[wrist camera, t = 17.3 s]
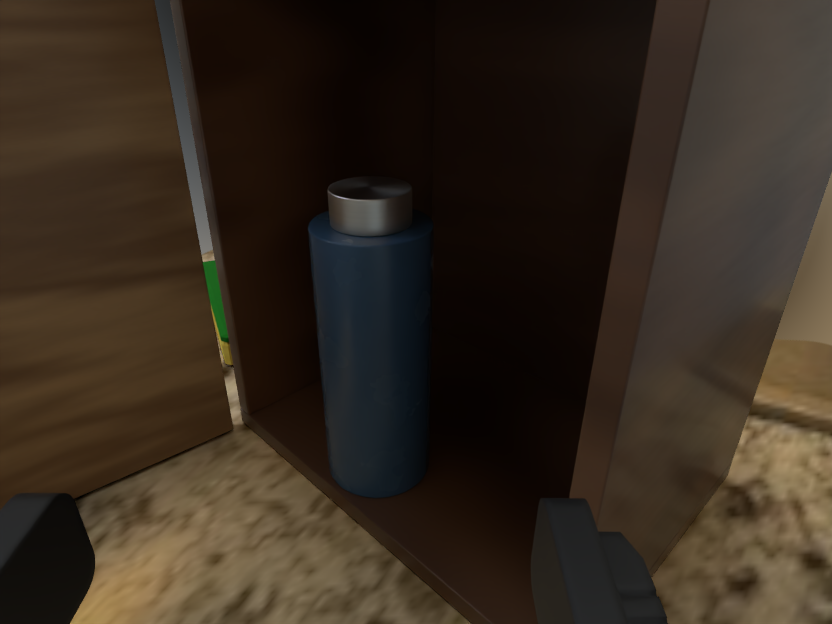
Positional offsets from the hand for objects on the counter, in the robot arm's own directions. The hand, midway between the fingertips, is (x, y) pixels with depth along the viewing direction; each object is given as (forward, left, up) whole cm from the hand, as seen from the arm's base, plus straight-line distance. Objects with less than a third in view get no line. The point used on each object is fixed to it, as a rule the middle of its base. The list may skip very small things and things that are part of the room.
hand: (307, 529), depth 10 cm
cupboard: (+9, -16, -14) cm, 23 cm away
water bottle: (+11, -11, -13) cm, 20 cm away
